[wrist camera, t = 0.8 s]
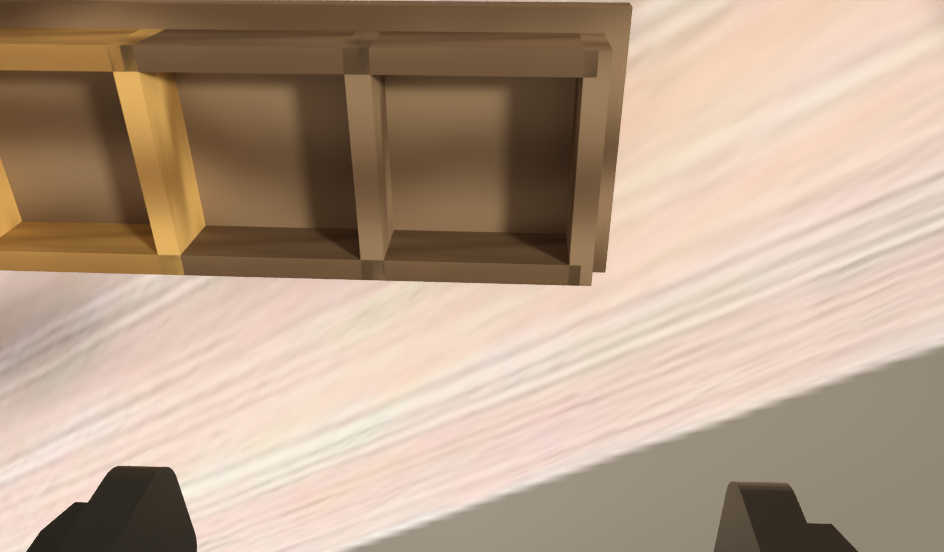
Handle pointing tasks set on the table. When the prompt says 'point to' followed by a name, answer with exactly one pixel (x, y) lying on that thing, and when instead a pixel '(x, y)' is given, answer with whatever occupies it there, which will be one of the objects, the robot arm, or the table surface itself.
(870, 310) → the table surface
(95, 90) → the compartment tray
